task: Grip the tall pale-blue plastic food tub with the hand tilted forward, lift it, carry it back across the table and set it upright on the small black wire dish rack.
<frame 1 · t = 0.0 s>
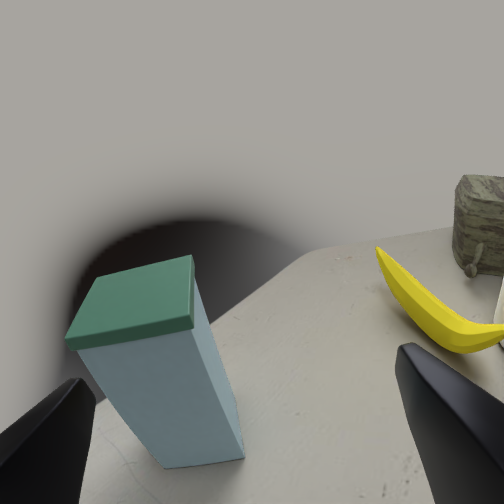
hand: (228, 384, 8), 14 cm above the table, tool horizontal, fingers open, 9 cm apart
food tub: (201, 433, 21), on the table
banana: (427, 330, 26), on the table
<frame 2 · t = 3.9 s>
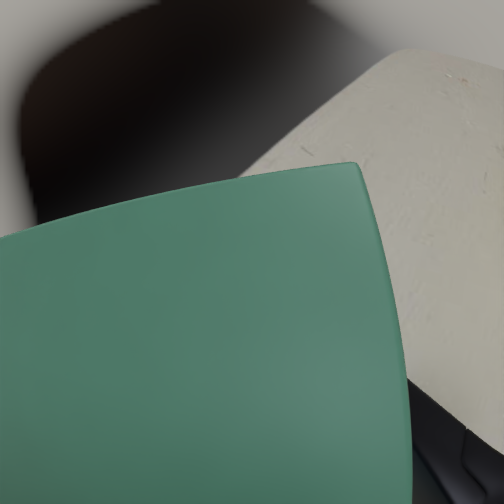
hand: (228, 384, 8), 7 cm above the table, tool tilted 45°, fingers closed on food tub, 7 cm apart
food tub: (260, 413, 13), on the table, touching gripper
when the fingers open (9 cm above the table, at t = 12.9 s): food tub stays where it is, resting on dish rack.
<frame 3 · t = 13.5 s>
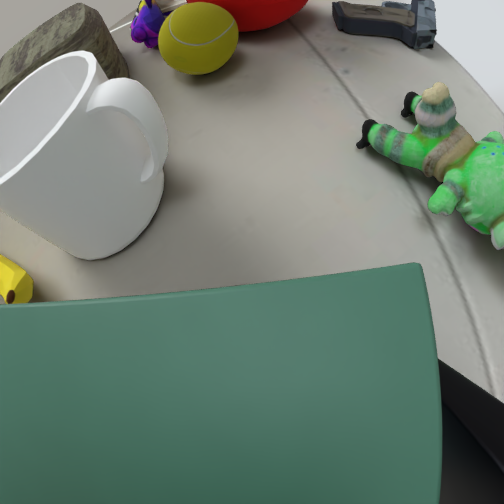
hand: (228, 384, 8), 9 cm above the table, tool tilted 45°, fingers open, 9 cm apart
toy 2: (386, 104, 19), point 2 cm above the table
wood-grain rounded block: (51, 126, 20), point 4 cm above the table
tennis ball: (180, 60, 21), point 4 cm above the table
food tub: (263, 412, 14), point 2 cm above the table, touching dish rack, gripper
mug: (121, 198, 22), on the table
banana: (10, 277, 21), on the table
tomato: (256, 21, 28), on the table
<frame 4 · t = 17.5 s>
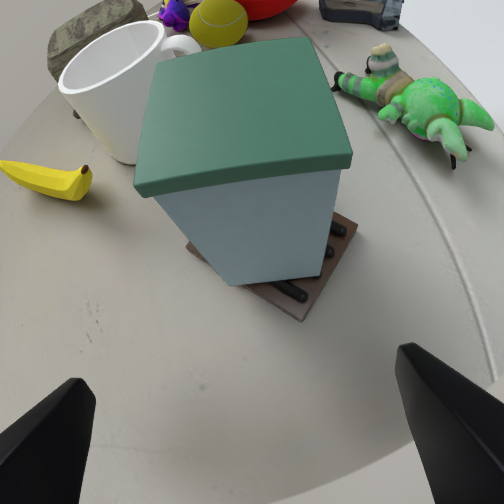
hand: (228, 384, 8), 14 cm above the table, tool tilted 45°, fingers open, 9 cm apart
toy 2: (352, 63, 27), point 2 cm above the table
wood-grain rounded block: (108, 77, 28), point 4 cm above the table
tennis ball: (206, 37, 29), point 4 cm above the table
dish rack: (272, 240, 23), on the table
food tub: (269, 238, 22), point 2 cm above the table, touching dish rack
mug: (163, 126, 29), on the table
banana: (61, 191, 29), on the table
tomato: (260, 13, 36), on the table
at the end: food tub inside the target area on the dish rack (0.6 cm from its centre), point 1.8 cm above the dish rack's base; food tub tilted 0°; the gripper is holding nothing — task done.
